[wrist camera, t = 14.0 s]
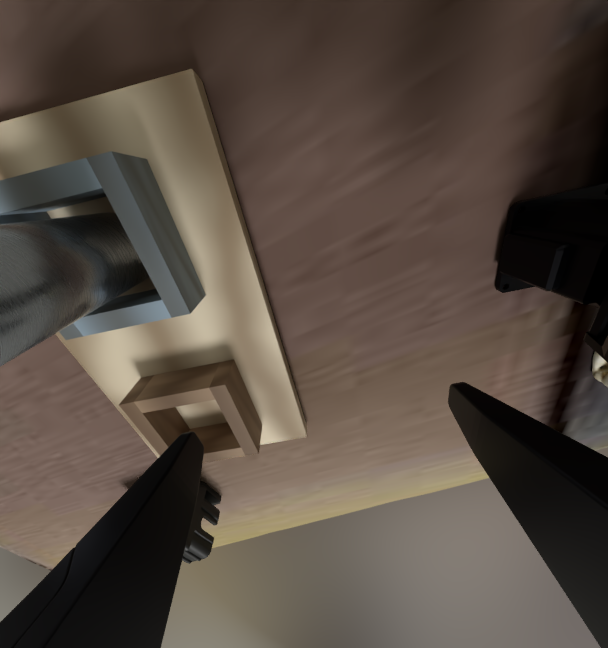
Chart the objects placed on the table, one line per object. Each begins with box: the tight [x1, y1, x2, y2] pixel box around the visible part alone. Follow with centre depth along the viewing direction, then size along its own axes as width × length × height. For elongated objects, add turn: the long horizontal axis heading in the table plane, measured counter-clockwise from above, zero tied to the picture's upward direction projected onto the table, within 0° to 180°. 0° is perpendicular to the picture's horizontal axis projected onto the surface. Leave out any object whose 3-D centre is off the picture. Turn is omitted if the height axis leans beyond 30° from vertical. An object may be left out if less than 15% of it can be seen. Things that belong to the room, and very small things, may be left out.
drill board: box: [0, 69, 307, 463], centre depth 18 cm, size 16×28×4 cm, turn 12°
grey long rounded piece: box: [0, 212, 150, 366], centre depth 11 cm, size 4×4×11 cm
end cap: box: [182, 482, 221, 563], centre depth 29 cm, size 10×7×7 cm
